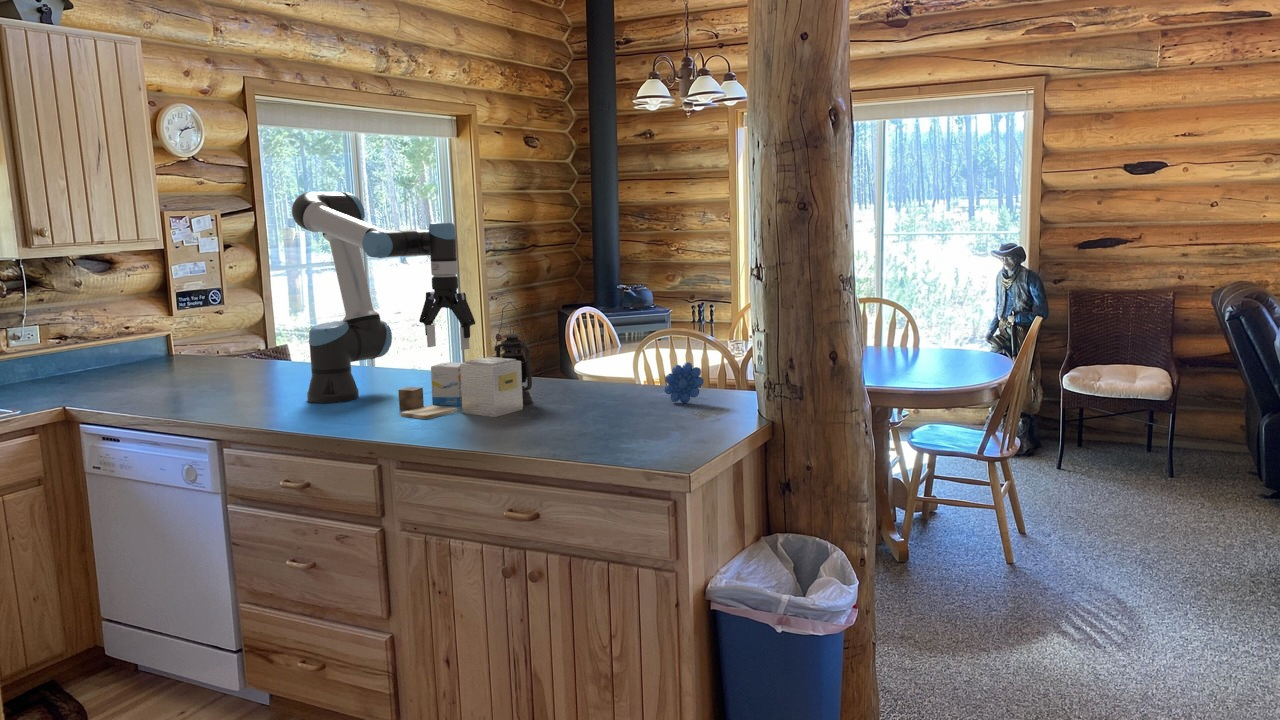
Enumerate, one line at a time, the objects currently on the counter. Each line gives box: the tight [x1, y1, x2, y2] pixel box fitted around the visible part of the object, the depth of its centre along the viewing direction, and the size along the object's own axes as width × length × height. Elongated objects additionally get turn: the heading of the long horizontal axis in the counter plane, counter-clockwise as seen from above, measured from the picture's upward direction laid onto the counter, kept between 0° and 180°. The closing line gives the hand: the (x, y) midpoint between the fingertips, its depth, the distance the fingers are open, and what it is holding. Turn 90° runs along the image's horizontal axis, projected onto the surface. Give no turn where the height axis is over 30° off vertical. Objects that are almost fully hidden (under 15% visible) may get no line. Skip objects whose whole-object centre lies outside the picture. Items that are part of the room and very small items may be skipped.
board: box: [400, 404, 458, 420], centre depth 269 cm, size 10×12×1 cm
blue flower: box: [664, 362, 704, 404], centre depth 276 cm, size 12×7×12 cm, turn 74°
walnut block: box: [397, 386, 425, 412], centre depth 276 cm, size 5×5×6 cm
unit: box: [460, 356, 524, 418], centre depth 269 cm, size 12×12×15 cm
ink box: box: [430, 361, 464, 407], centre depth 283 cm, size 9×8×12 cm
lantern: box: [494, 301, 533, 406], centre depth 280 cm, size 12×11×30 cm
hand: (448, 348), depth 282 cm, fingers open, 13 cm apart
